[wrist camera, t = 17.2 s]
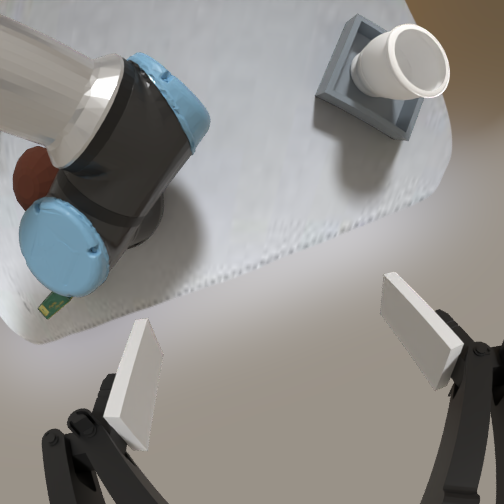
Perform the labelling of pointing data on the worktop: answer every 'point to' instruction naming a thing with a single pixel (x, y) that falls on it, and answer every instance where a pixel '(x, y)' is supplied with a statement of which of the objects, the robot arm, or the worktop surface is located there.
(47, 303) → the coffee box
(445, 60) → the white tapered cylinder
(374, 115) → the bin
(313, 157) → the worktop surface
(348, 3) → the worktop surface
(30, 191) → the muffin
